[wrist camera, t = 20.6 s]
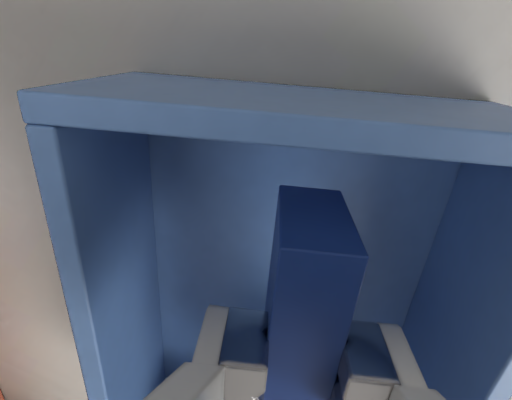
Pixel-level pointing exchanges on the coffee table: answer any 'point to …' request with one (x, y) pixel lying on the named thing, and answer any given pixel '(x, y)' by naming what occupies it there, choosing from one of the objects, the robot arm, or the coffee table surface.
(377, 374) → the robot arm
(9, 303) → the coffee table surface
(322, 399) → the blue spoon
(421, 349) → the blue bin
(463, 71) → the coffee table surface
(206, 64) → the coffee table surface
